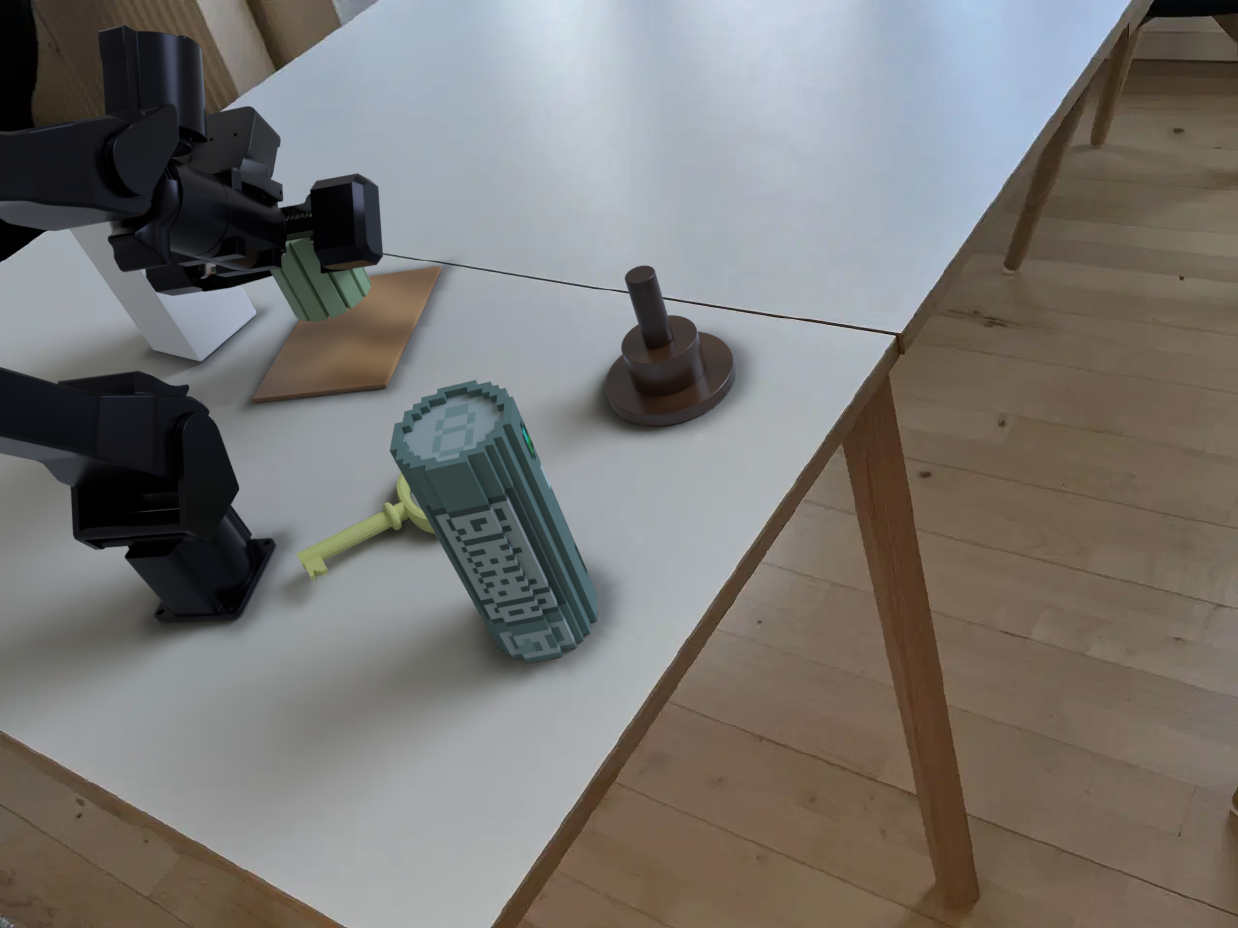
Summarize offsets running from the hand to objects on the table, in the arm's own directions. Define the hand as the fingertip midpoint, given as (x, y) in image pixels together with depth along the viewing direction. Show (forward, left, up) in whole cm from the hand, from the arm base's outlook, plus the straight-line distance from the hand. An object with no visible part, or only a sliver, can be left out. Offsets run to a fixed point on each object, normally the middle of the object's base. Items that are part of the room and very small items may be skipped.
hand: (323, 259), depth 86 cm
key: (-24, -12, -7) cm, 28 cm away
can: (-32, -24, -7) cm, 41 cm away
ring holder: (-12, -29, -6) cm, 32 cm away
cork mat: (-1, 0, -6) cm, 7 cm away
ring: (-1, 0, -3) cm, 3 cm away
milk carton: (+2, +16, -7) cm, 17 cm away
